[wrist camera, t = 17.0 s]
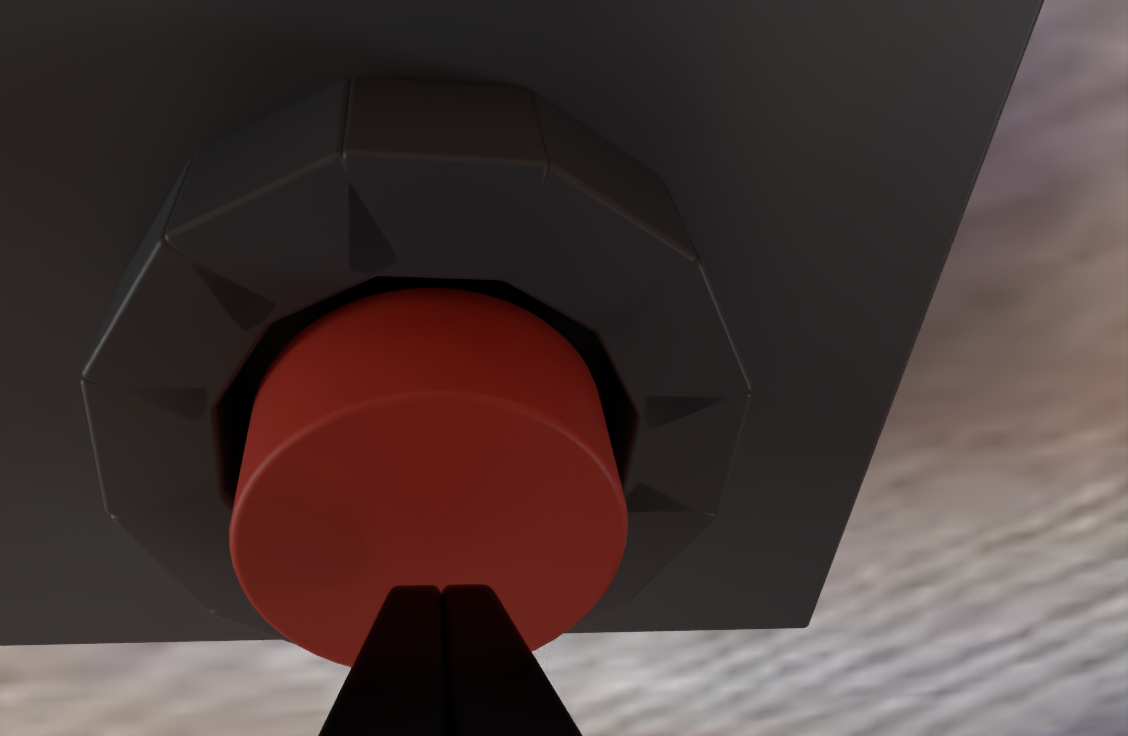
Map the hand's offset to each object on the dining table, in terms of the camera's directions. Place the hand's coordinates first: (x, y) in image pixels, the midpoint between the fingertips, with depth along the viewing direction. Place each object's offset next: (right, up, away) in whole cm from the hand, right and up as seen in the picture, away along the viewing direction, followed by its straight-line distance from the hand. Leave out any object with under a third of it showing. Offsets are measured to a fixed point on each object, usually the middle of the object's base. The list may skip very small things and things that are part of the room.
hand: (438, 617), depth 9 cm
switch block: (-1, +4, +5) cm, 6 cm away
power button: (0, +2, +2) cm, 3 cm away
